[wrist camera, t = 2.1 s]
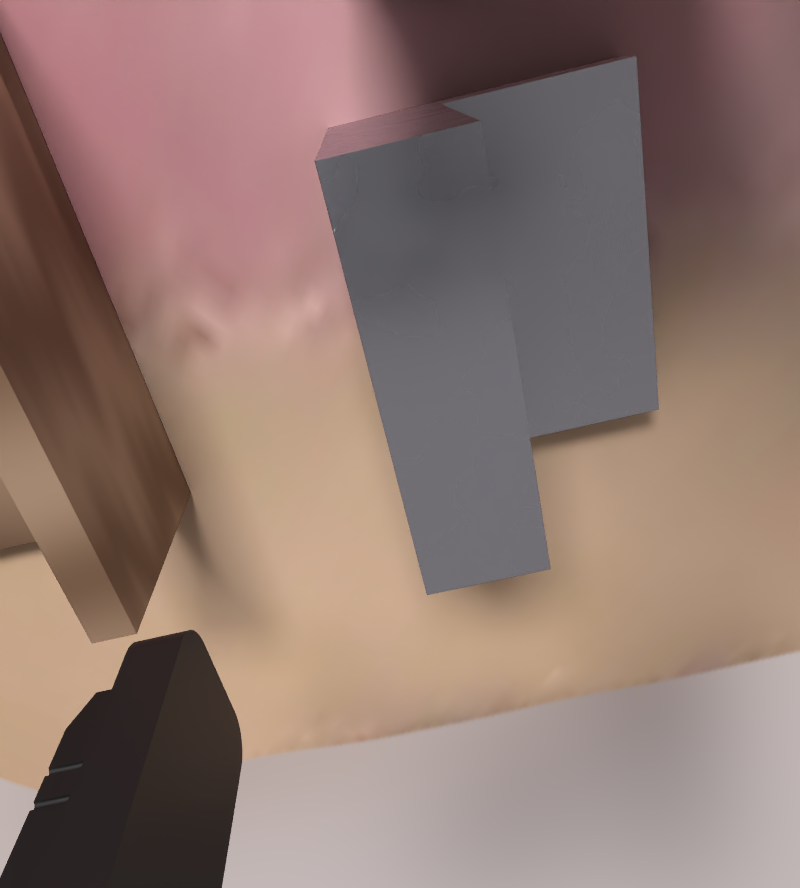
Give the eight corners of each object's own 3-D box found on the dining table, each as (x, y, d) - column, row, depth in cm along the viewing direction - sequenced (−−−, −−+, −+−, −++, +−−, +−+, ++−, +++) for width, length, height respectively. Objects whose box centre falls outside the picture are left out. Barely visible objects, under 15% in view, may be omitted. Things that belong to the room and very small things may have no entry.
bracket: (328, 127, 20) (314, 161, 13) (617, 56, 20) (765, 51, 13) (405, 443, 25) (427, 594, 18) (642, 390, 24) (761, 524, 17)
